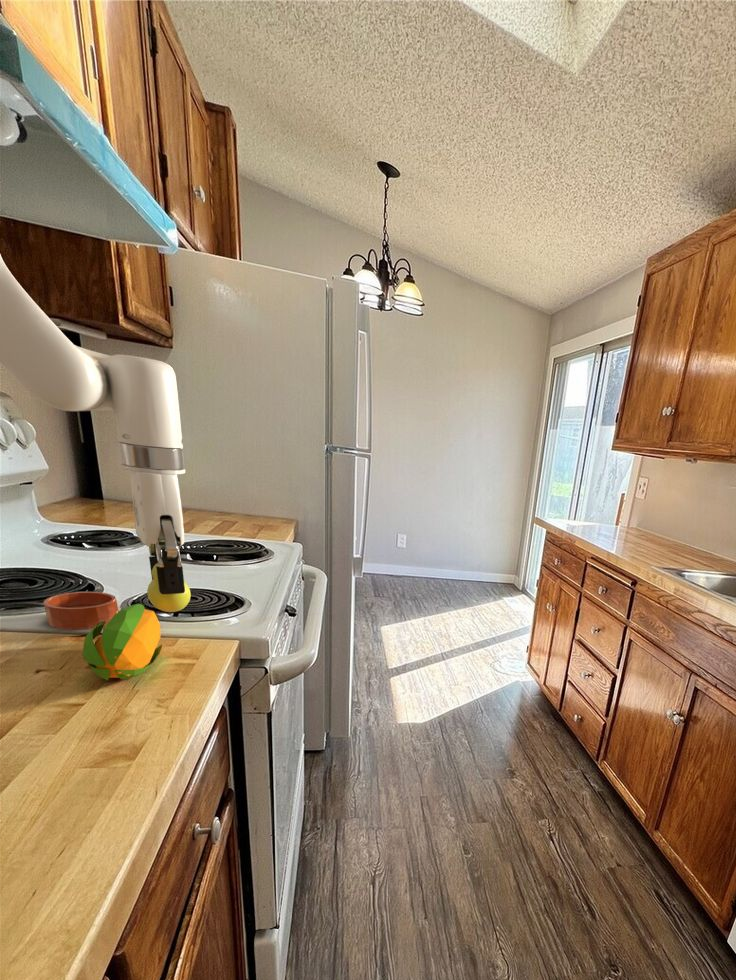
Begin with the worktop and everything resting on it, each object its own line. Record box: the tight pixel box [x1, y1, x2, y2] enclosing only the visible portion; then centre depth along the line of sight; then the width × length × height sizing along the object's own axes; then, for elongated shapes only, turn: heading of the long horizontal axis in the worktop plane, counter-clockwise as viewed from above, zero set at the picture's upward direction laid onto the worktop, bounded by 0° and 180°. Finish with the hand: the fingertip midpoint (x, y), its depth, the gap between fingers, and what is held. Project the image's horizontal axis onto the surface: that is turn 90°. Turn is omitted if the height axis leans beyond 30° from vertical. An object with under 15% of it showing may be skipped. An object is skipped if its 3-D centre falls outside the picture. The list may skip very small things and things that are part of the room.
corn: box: [82, 603, 163, 681], centre depth 74 cm, size 7×8×20 cm
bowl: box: [43, 591, 120, 638], centre depth 83 cm, size 9×9×4 cm
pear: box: [146, 563, 192, 613], centre depth 83 cm, size 6×6×9 cm
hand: (168, 586), depth 83 cm, fingers closed on pear, 5 cm apart
